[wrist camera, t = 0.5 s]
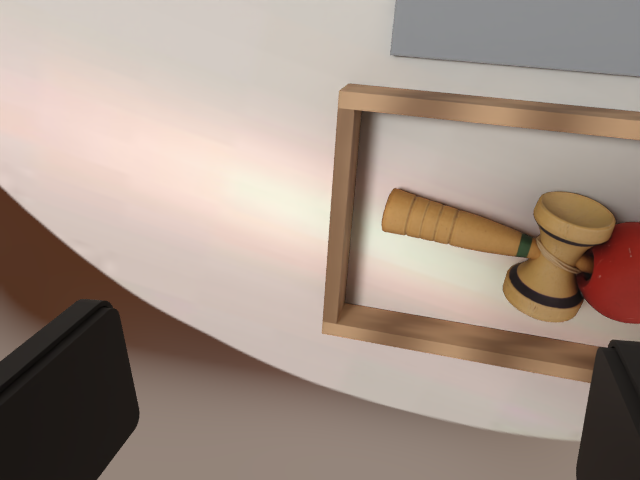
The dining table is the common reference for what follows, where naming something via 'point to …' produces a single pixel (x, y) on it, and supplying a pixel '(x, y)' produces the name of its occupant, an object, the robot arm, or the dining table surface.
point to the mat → (523, 33)
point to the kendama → (542, 252)
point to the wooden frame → (430, 331)
